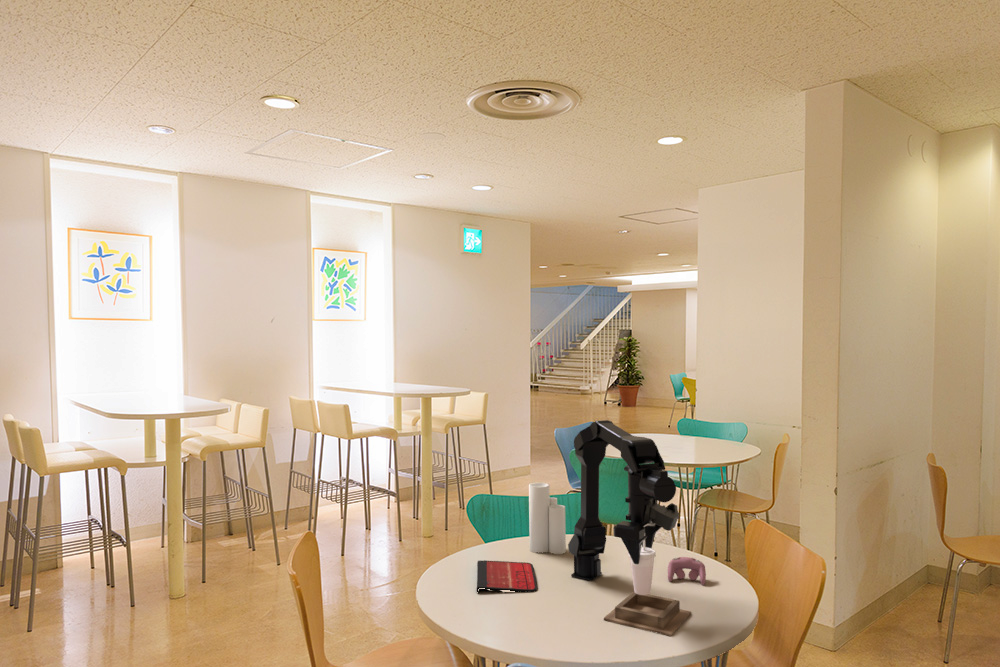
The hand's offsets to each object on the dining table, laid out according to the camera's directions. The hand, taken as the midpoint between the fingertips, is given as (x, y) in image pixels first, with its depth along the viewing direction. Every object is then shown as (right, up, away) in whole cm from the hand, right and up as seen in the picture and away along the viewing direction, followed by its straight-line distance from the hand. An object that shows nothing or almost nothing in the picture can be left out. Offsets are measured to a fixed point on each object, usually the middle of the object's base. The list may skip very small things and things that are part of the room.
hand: (641, 559), depth 155 cm
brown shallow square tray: (+1, -13, 0) cm, 13 cm away
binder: (-32, -15, +26) cm, 43 cm away
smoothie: (0, -8, 0) cm, 8 cm away
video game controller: (+17, -14, +23) cm, 31 cm away
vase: (-18, -14, +50) cm, 55 cm away
